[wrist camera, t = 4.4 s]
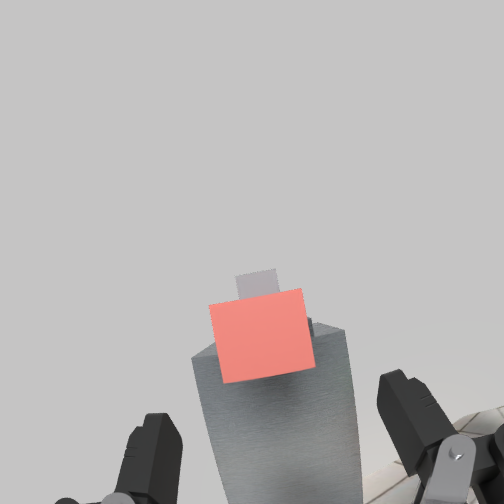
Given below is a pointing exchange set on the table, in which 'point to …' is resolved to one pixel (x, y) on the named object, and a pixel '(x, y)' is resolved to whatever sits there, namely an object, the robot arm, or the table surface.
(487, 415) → the table surface
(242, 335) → the lever
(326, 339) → the box
